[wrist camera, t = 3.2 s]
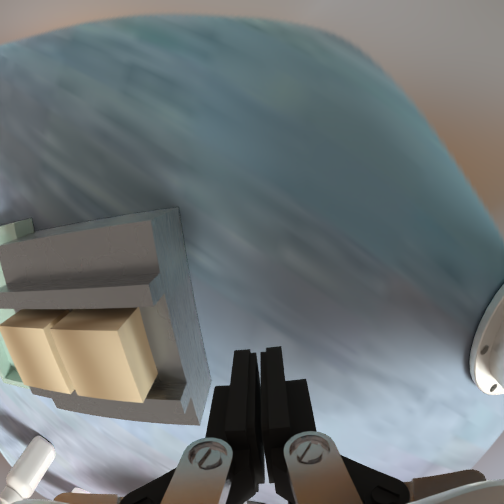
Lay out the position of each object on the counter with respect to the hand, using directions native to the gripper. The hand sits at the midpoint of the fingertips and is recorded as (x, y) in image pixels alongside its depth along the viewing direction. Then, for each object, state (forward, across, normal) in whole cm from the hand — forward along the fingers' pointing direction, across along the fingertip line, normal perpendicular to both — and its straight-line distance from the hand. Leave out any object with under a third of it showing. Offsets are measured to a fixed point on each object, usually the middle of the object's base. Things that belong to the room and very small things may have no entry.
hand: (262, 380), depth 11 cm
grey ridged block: (+8, +10, 0) cm, 13 cm away
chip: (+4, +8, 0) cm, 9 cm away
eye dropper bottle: (+9, +28, +19) cm, 35 cm away
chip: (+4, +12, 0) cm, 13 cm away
